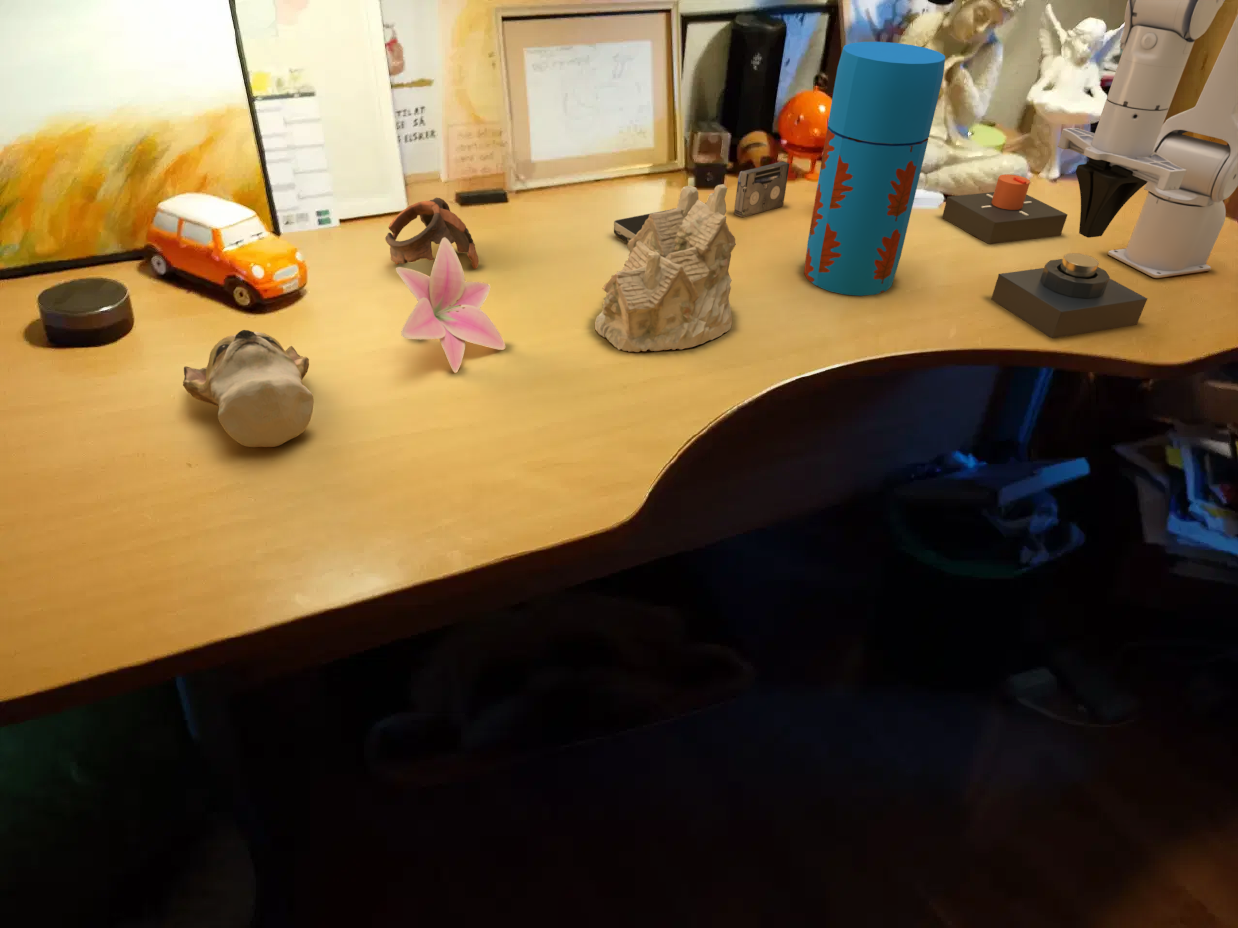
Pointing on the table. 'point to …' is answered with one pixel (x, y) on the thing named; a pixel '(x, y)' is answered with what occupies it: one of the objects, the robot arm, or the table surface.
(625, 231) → the external hard drive
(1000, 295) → the square base push button
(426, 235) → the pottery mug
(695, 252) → the ceramic cottage
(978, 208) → the dark grey dial base
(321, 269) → the table surface
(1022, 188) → the dial
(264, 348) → the ceramic sculpture
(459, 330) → the lily
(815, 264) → the thermos
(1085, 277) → the metal button cap
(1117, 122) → the robot arm
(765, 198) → the mini dv tape
